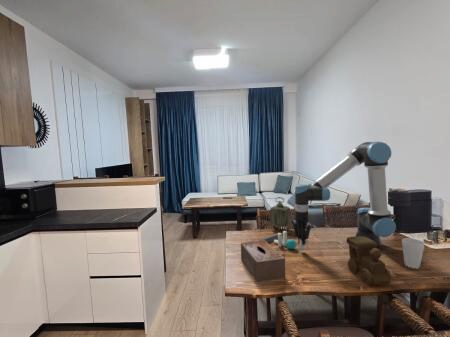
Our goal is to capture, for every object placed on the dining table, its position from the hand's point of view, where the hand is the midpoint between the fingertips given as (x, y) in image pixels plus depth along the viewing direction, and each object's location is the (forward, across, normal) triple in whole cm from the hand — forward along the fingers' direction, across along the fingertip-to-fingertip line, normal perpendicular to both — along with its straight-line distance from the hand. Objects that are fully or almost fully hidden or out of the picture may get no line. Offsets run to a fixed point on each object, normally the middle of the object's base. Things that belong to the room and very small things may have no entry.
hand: (301, 249), depth 154 cm
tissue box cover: (+2, -2, -32) cm, 33 cm away
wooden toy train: (+2, +38, -2) cm, 38 cm away
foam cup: (+2, +48, +27) cm, 55 cm away
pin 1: (+2, -14, -2) cm, 15 cm away
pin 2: (+2, -14, +2) cm, 15 cm away
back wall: (+2, -25, 0) cm, 25 cm away
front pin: (+1, -12, 0) cm, 12 cm away
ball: (-1, -7, -1) cm, 7 cm away
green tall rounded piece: (+2, -36, +24) cm, 43 cm away
